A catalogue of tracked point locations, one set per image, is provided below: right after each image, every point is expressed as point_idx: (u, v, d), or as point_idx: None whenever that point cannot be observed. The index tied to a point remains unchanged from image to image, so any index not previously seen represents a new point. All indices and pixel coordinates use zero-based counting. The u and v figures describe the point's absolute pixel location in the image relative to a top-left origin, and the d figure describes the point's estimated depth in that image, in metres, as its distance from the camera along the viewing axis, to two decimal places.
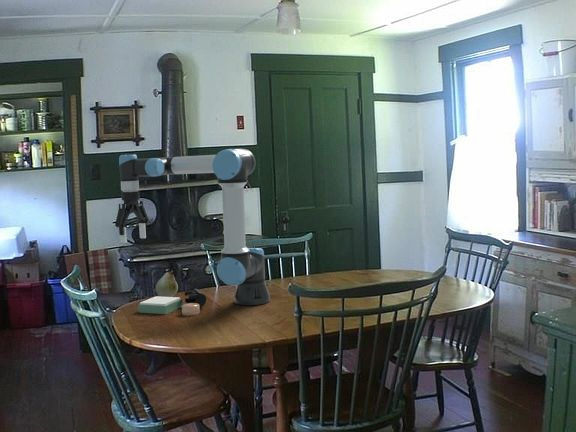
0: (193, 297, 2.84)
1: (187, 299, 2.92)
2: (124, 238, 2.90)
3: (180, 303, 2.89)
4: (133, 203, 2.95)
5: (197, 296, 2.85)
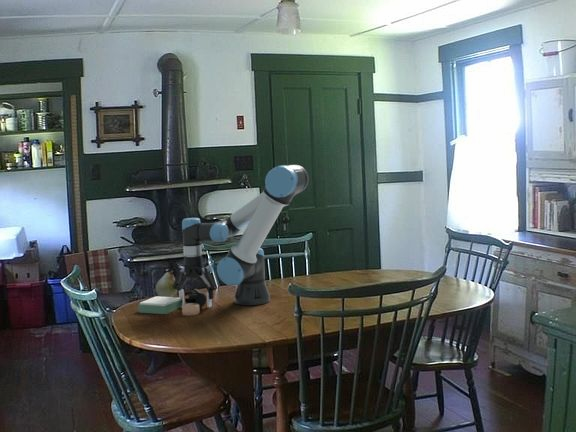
0: (193, 297, 2.84)
1: (187, 299, 2.92)
2: None
3: (180, 303, 2.89)
4: (192, 268, 2.87)
5: (197, 296, 2.85)
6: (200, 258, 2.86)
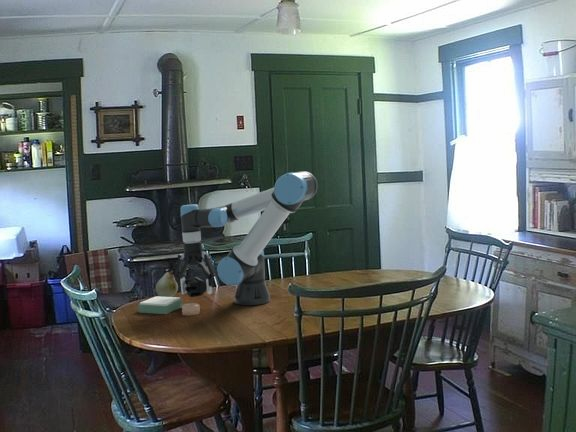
0: (193, 284, 2.84)
1: (188, 287, 2.92)
2: None
3: (180, 303, 2.89)
4: (192, 255, 2.86)
5: (197, 283, 2.84)
6: (199, 244, 2.85)
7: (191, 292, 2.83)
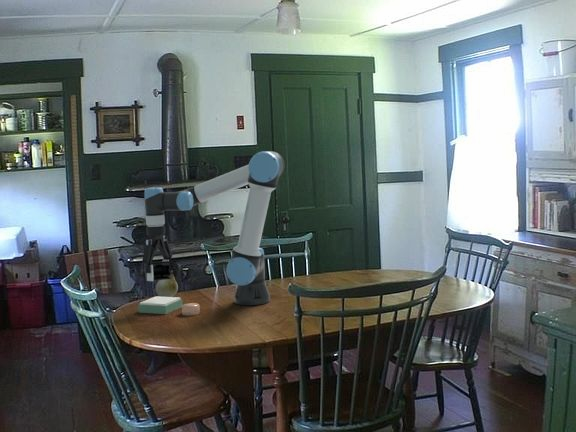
0: None
1: None
2: (151, 276, 2.79)
3: (180, 303, 2.89)
4: (158, 238, 2.84)
5: None
6: None
7: None
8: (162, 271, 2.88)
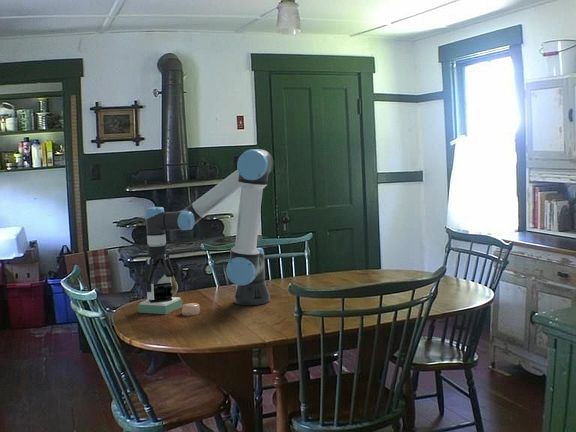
0: None
1: None
2: (152, 295, 2.79)
3: (180, 303, 2.89)
4: (160, 257, 2.84)
5: (170, 286, 2.87)
6: None
7: None
8: (164, 292, 2.89)
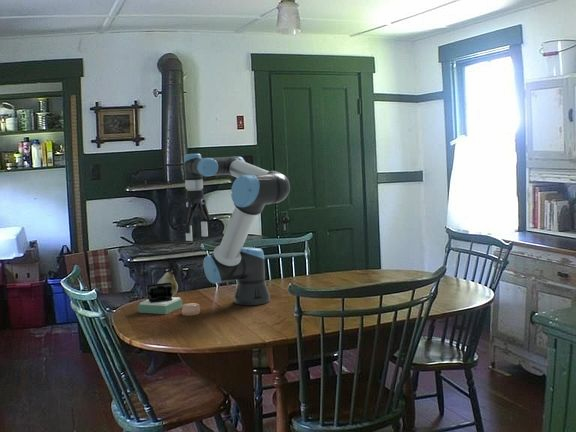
0: None
1: (150, 296, 2.82)
2: (190, 236, 2.94)
3: (180, 303, 2.89)
4: (197, 202, 2.99)
5: (170, 286, 2.87)
6: None
7: None
8: (164, 292, 2.89)
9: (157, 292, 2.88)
